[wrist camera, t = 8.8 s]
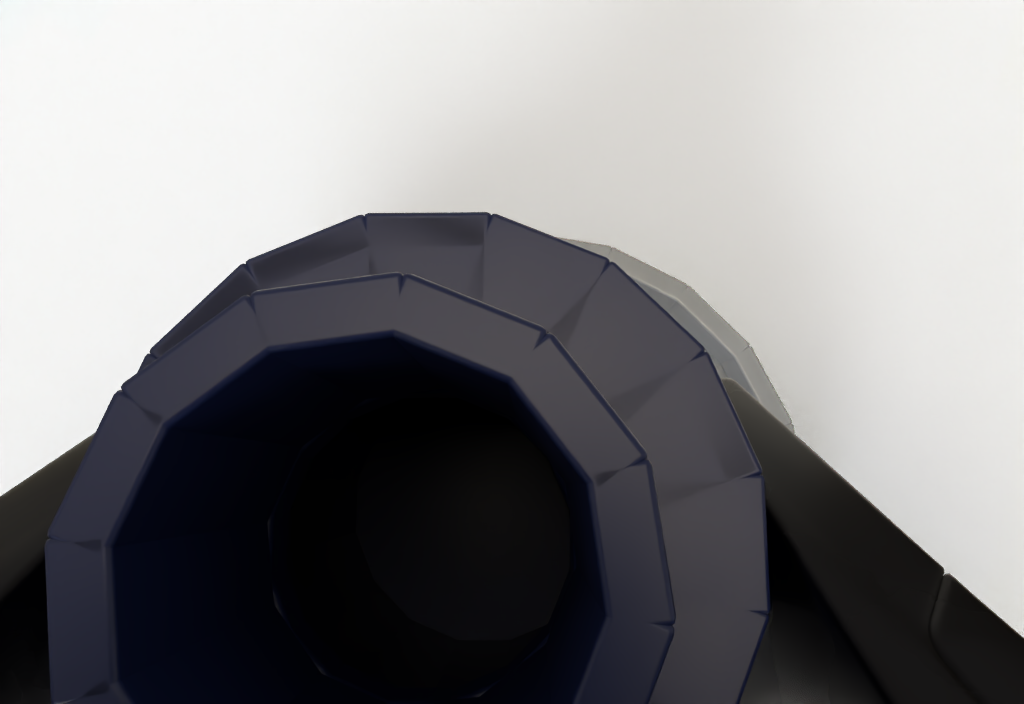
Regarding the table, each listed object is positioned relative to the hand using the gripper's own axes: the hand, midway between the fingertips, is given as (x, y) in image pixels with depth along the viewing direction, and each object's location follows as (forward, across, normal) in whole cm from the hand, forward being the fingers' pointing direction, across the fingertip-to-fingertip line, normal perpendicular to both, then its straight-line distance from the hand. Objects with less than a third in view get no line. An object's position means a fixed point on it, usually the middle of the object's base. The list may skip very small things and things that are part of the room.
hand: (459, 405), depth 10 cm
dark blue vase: (+4, 0, +6) cm, 7 cm away
